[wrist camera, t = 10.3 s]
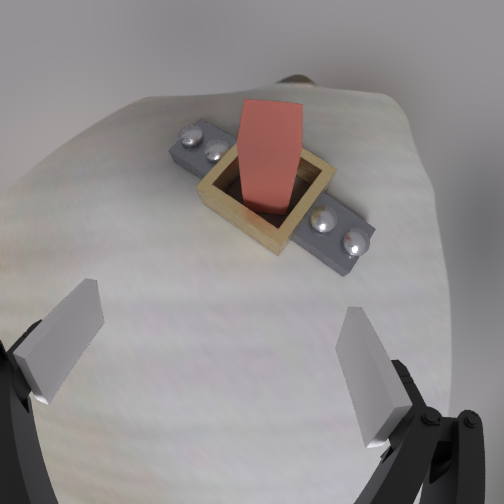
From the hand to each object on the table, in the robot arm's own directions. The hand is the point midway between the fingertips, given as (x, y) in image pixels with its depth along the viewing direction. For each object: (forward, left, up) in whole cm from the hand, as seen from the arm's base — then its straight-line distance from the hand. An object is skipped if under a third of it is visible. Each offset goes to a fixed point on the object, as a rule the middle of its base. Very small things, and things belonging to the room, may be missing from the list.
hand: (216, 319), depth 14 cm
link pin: (-5, +11, -11) cm, 17 cm away
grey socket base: (-5, +12, -11) cm, 17 cm away
